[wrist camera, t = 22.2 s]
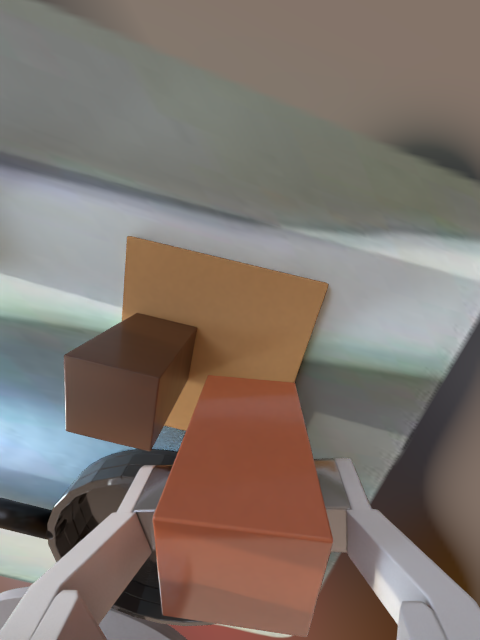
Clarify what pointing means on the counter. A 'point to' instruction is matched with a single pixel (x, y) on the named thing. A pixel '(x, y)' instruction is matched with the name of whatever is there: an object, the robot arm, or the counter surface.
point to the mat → (223, 314)
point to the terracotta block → (243, 512)
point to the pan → (94, 507)
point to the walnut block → (128, 380)
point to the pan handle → (26, 519)
